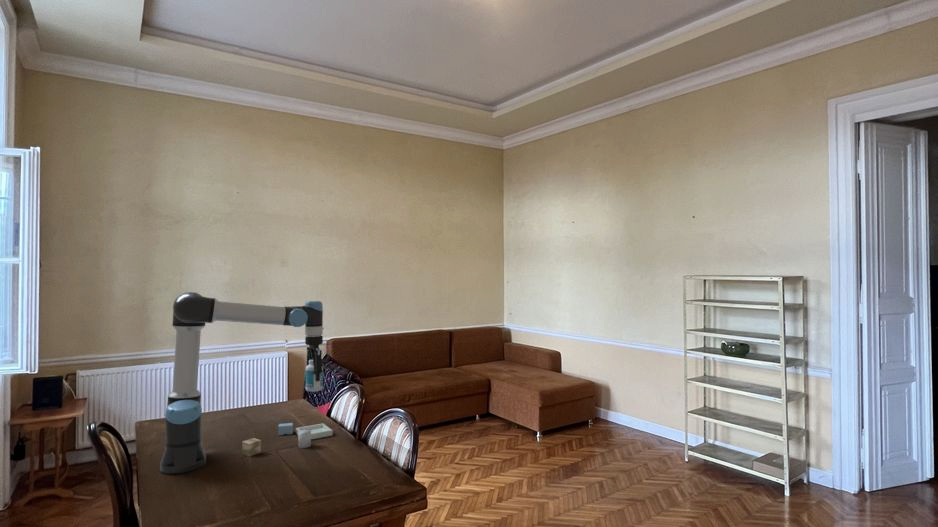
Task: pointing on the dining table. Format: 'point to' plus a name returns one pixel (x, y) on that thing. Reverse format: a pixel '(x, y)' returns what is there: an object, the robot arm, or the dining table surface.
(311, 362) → the pill bottle
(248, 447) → the oak cube
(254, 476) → the dining table surface
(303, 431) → the grey cylinder
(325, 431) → the tray
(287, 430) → the blue block
